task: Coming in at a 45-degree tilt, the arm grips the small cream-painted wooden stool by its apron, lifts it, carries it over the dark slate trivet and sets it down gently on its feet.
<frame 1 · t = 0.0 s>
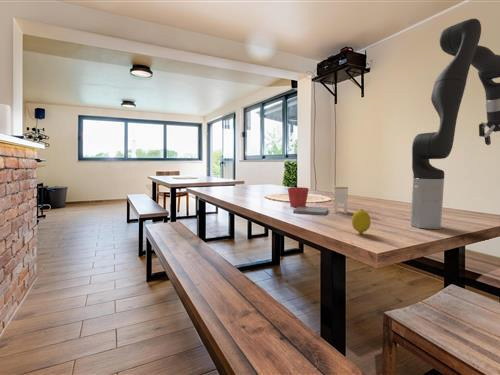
lemon: (360, 234, 88), on the table
trivet: (311, 211, 129), on the table
stool: (340, 211, 129), on the table
flower pot: (297, 206, 146), on the table
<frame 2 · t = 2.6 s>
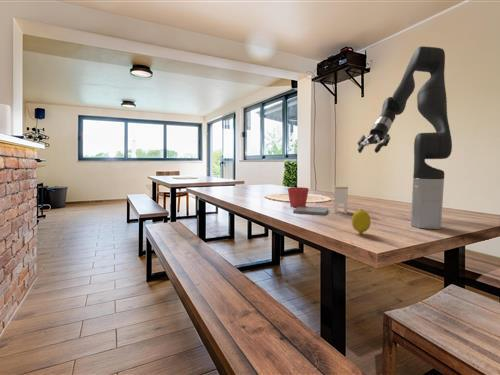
hand: (367, 151, 132), 28 cm above the table, tool tilted 45°, fingers open, 8 cm apart
nothing on the table moved.
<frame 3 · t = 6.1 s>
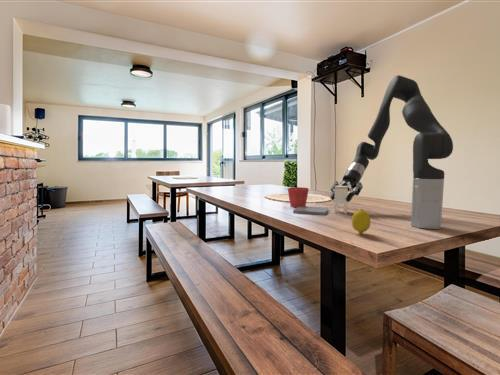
hand: (339, 199, 127), 6 cm above the table, tool tilted 45°, fingers closed on stool, 7 cm apart
stool: (340, 211, 129), on the table, touching gripper
everything else where it was.
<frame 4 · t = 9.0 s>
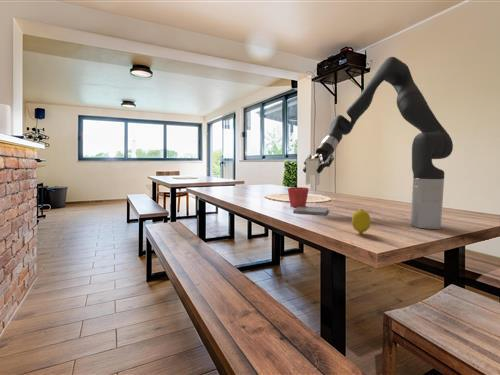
hand: (310, 171, 127), 19 cm above the table, tool tilted 45°, fingers closed on stool, 7 cm apart
stool: (312, 184, 129), point 13 cm above the table, touching gripper
everything else where it was.
when the fingers open (8 cm above the table, at t = 12.2 s): stool stays where it is, resting on trivet.
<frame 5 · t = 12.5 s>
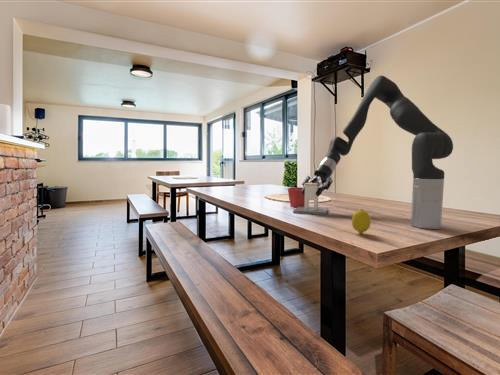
hand: (309, 194, 128), 8 cm above the table, tool tilted 45°, fingers open, 8 cm apart
stool: (311, 208, 129), point 1 cm above the table, touching trivet
everything else where it was.
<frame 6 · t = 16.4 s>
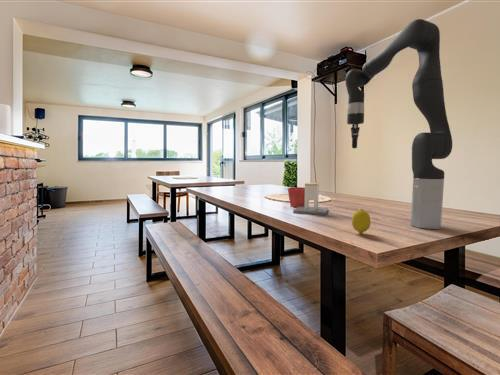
hand: (354, 147, 134), 30 cm above the table, tool pointing down, fingers open, 8 cm apart
nothing on the table moved.
at the end: stool inside the target area on the trivet (0.1 cm from its centre), point 1.2 cm above the trivet's base; stool tilted 0°; the gripper is holding nothing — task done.
